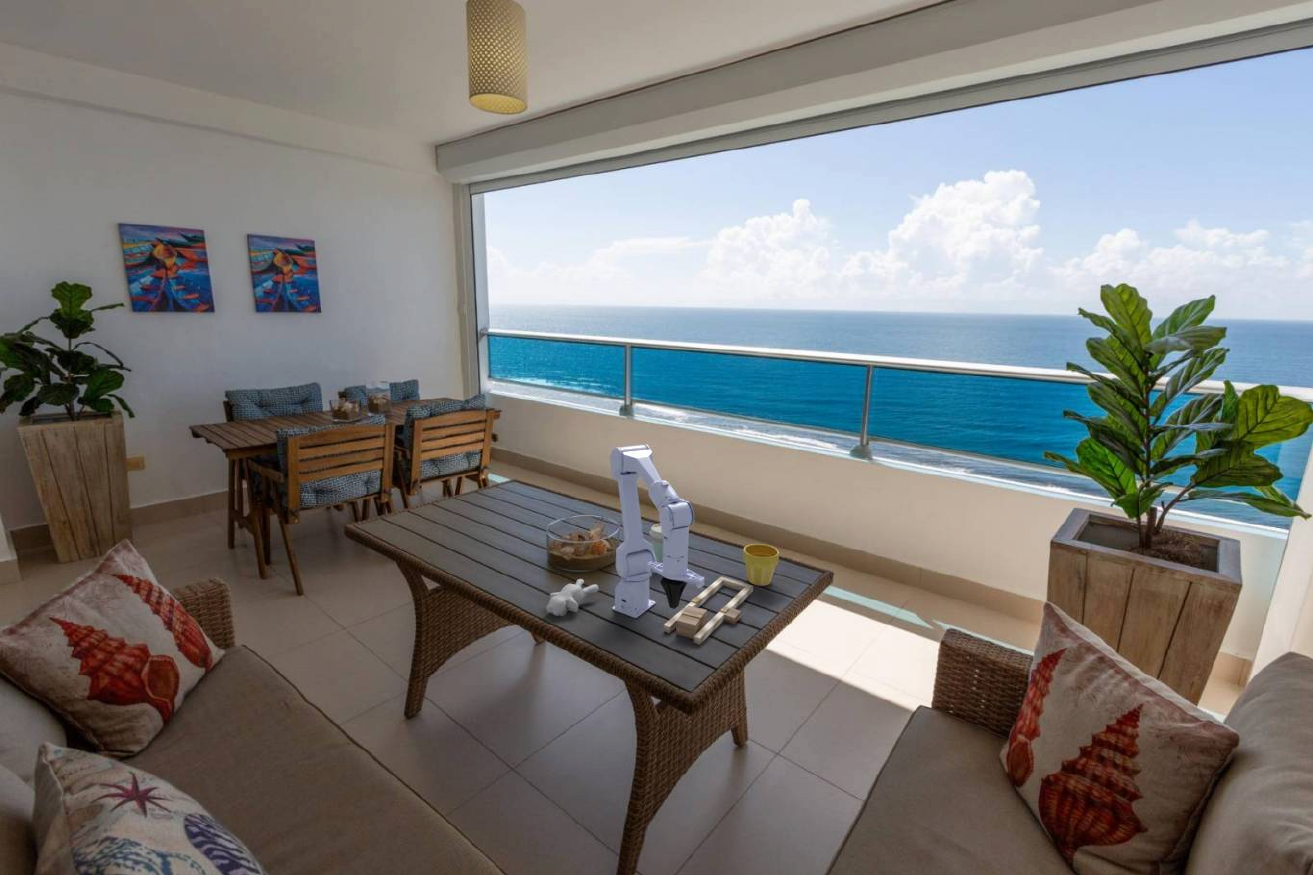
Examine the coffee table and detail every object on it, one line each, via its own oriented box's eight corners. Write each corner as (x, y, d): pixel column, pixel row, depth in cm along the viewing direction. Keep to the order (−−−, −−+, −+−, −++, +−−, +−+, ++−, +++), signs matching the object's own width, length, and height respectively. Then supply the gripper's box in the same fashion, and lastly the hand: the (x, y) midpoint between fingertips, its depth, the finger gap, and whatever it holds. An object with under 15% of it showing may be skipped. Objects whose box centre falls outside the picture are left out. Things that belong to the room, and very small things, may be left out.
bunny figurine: (537, 598, 146) (576, 571, 157) (539, 614, 147) (577, 586, 159) (564, 609, 141) (601, 580, 152) (566, 626, 142) (603, 596, 154)
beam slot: (710, 649, 132) (711, 641, 131) (663, 631, 139) (664, 623, 138) (762, 594, 158) (762, 587, 157) (720, 581, 165) (721, 575, 164)
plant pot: (752, 569, 173) (754, 540, 171) (783, 579, 166) (785, 549, 164) (735, 581, 165) (737, 550, 163) (766, 592, 159) (768, 561, 156)
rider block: (694, 640, 136) (695, 624, 135) (676, 634, 138) (676, 619, 137) (706, 624, 143) (706, 609, 142) (688, 619, 145) (688, 604, 144)
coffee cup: (678, 559, 179) (679, 524, 176) (672, 571, 171) (673, 534, 168) (653, 555, 181) (653, 521, 178) (645, 567, 173) (646, 531, 170)
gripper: (711, 554, 127) (709, 608, 130) (658, 539, 134) (657, 590, 137) (696, 566, 121) (694, 622, 124) (642, 549, 129) (641, 602, 132)
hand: (674, 606), depth 130 cm, fingers closed
